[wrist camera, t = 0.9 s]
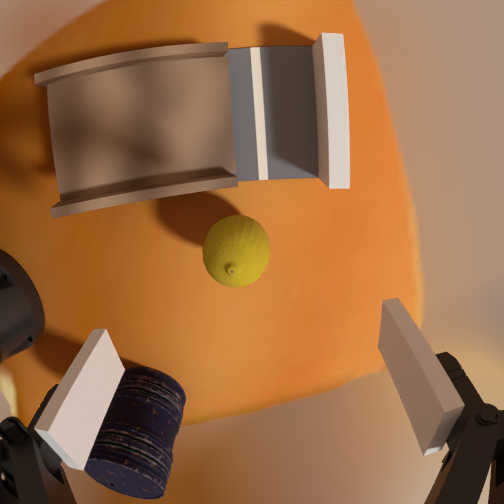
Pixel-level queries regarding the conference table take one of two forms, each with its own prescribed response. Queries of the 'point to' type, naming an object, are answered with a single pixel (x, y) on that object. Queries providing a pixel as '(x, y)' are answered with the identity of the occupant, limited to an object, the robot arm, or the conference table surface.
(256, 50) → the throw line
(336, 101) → the rail
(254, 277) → the lemon
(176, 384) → the dark blue upright cylinder
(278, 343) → the conference table surface
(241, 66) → the lane mat
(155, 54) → the ramp
